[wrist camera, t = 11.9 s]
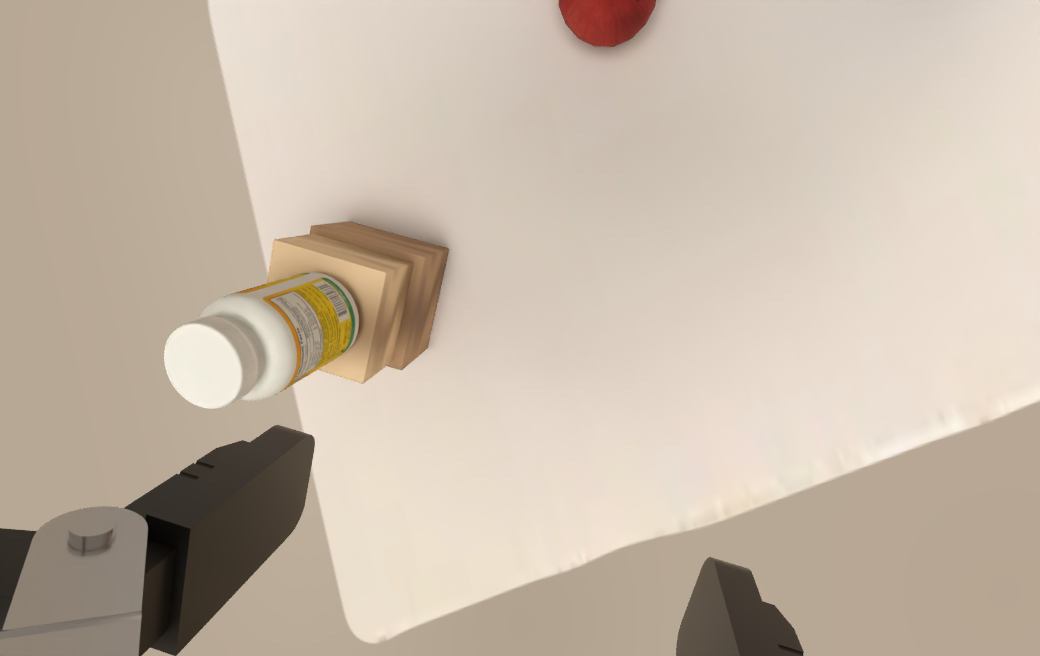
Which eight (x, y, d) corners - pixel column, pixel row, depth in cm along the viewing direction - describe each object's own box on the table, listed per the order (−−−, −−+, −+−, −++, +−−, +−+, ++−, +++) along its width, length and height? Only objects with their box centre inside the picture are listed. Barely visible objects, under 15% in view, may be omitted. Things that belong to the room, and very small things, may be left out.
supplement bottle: (368, 284, 34) (263, 328, 25) (354, 369, 36) (251, 439, 27) (284, 259, 35) (152, 292, 26) (274, 343, 36) (147, 402, 27)
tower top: (314, 233, 40) (273, 239, 35) (414, 262, 39) (386, 272, 34) (297, 332, 41) (256, 350, 37) (392, 361, 41) (363, 383, 36)
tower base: (349, 221, 45) (311, 225, 40) (449, 248, 45) (425, 257, 39) (332, 320, 47) (293, 338, 42) (427, 348, 47) (401, 370, 41)
